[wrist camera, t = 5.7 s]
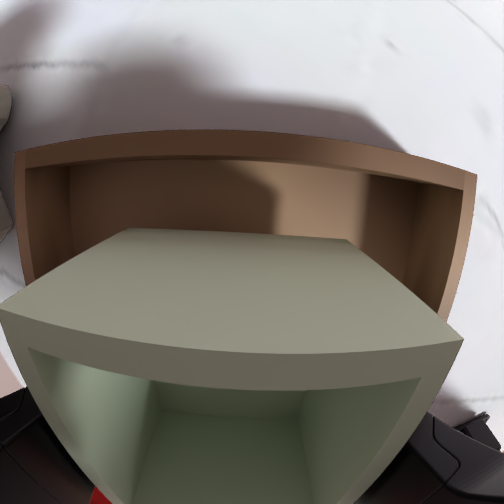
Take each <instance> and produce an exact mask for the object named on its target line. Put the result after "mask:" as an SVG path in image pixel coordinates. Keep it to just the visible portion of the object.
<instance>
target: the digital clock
mask: <svg viewBox="0 0 504 504" xmlns="http://www.w3.org/2000/svg"><path fill="white" fill-rule="evenodd" d="M11 105H12V94H11V91H10V89H9V86H7V85H1V84H0V131H1V130H2V128H3V127H4V125H5V124H6V122H7V120H8V118H9V114H10V110H11ZM12 226H13V221H12V218H11V216H10V213H9V211H8V208H7V206H6V203H5V200H4V198H3V195H2V192H1V189H0V243H1V241H2V240H3V239H4V237H5V236H6V234H7V233H8V232H9V230H10V229H11V228H12Z"/></svg>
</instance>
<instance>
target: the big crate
mask: <svg viewBox="0 0 504 504" xmlns="http://www.w3.org/2000/svg"><path fill="white" fill-rule="evenodd" d="M476 183H477V174H474V173H471V172H468V171H465V170H462V169H459V168H456V167H453V166H450V165H447V164H443V163H440V162H436V161H433V160H429V159H426V158H422V157H418V156H414V155H410V154H406V153H402V152H398V151H394V150H389V149H384V148H380V147H375V146H370V145H365V144H359V143H354V142H348V141H341V140H335V139H328V138H321V137H313V136H305V135H296V134H286V133H274V132H261V131H242V130H165V131H147V132H134V133H123V134H113V135H104V136H97V137H89V138H82V139H76V140H70V141H64V142H59V143H54V144H49V145H44V146H39V147H35V148H30V149H26V150H22V151H18V152H15V158H14V197H15V214H16V226H17V235H18V243H19V250H20V257H21V263H22V268H23V274H24V279H25V283H26V286H28V285H29V284H31V283H32V282H34V281H36V280H37V279H39V278H40V277H42V276H44V275H45V274H47V273H48V272H50V271H52V270H53V269H55V268H57V267H58V266H60V265H62V264H63V263H65V262H67V261H69V260H70V259H72V258H74V257H75V256H77V255H79V254H81V253H82V252H84V251H86V250H88V249H90V248H91V247H93V246H95V245H97V244H99V243H101V242H102V241H104V240H106V239H108V238H110V237H112V236H114V235H116V234H117V233H119V232H121V231H123V230H125V229H127V228H151V229H176V230H199V231H220V232H240V233H258V234H275V235H292V236H307V237H322V238H336V239H347V240H348V241H349V242H350V243H352V244H353V245H354V246H356V247H357V248H358V249H360V250H361V251H362V252H363V253H365V254H366V255H367V256H369V257H370V258H371V259H372V260H374V261H375V262H376V263H377V264H379V265H380V266H381V267H382V268H384V269H385V270H386V271H387V272H389V273H390V274H391V275H392V276H393V277H395V278H396V279H397V280H398V281H399V282H401V283H402V284H403V285H404V286H405V287H407V288H408V289H409V290H410V291H411V292H412V293H414V294H415V295H416V296H417V297H418V298H419V299H421V300H422V301H423V302H424V303H425V304H426V305H427V306H429V307H430V308H431V309H432V310H433V311H434V312H435V313H436V314H438V315H439V316H440V317H441V318H442V319H443V320H444V321H445V322H447V319H448V316H449V313H450V310H451V307H452V304H453V301H454V298H455V294H456V291H457V287H458V284H459V280H460V277H461V273H462V269H463V265H464V260H465V256H466V251H467V246H468V241H469V236H470V230H471V224H472V218H473V211H474V203H475V194H476Z"/></svg>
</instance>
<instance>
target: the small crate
mask: <svg viewBox="0 0 504 504" xmlns="http://www.w3.org/2000/svg"><path fill="white" fill-rule="evenodd" d="M0 322H1V325H2V328H3V331H4V334H5V337H6V339H7V342H8V345H9V347H10V350H11V352H12V354H13V357H14V359H15V361H16V364H17V366H18V368H19V370H20V373H21V375H22V377H23V379H24V381H25V383H26V385H27V387H28V389H29V391H30V393H31V395H32V396H33V398H34V400H35V402H36V404H37V405H38V407H39V409H40V411H41V412H42V414H43V416H44V417H45V419H46V421H47V422H48V424H49V425H50V427H51V429H52V430H53V432H54V433H55V435H56V436H57V438H58V439H59V440H60V442H61V443H62V445H63V446H64V448H65V449H66V450H67V452H68V453H69V454H70V456H71V457H72V458H73V460H74V461H75V462H76V463H77V465H78V466H79V467H80V468H81V470H82V471H83V472H84V473H85V474H86V476H87V477H88V478H89V479H90V480H91V481H92V483H93V484H94V485H95V486H96V487H97V488H98V489H99V490H100V491H101V492H102V493H103V494H104V496H105V497H106V498H107V499H108V500H109V501H110V502H111V503H112V504H353V503H354V502H355V501H356V500H357V499H358V498H359V497H360V496H361V495H362V494H363V493H364V492H365V491H366V490H367V489H368V488H369V487H370V486H371V485H372V484H373V483H374V481H375V480H376V479H377V478H378V477H379V476H380V475H381V474H382V472H383V471H384V470H385V469H386V468H387V466H388V465H389V464H390V463H391V462H392V460H393V459H394V458H395V456H396V455H397V454H398V453H399V451H400V450H401V449H402V447H403V446H404V445H405V443H406V442H407V441H408V439H409V438H410V436H411V435H412V433H413V432H414V431H415V429H416V428H417V426H418V425H419V423H420V422H421V420H422V418H423V417H424V415H425V414H426V412H427V411H428V409H429V407H430V406H431V404H432V402H433V400H434V399H435V397H436V395H437V394H438V392H439V390H440V388H441V386H442V384H443V383H444V381H445V379H446V377H447V375H448V373H449V371H450V369H451V367H452V365H453V363H454V361H455V358H456V356H457V354H458V352H459V350H460V347H461V345H462V343H463V340H464V339H463V338H462V337H461V336H460V335H459V334H458V333H457V332H456V331H455V330H454V329H453V328H452V327H451V326H450V325H448V324H447V323H446V322H445V321H444V320H443V319H442V318H441V317H440V316H439V315H438V314H436V313H435V312H434V311H433V310H432V309H431V308H430V307H429V306H427V305H426V304H425V303H424V302H423V301H422V300H421V299H419V298H418V297H417V296H416V295H415V294H414V293H412V292H411V291H410V290H409V289H408V288H407V287H405V286H404V285H403V284H402V283H401V282H399V281H398V280H397V279H396V278H395V277H393V276H392V275H391V274H390V273H389V272H387V271H386V270H385V269H384V268H382V267H381V266H380V265H379V264H377V263H376V262H375V261H374V260H372V259H371V258H370V257H369V256H367V255H366V254H365V253H363V252H362V251H361V250H360V249H358V248H357V247H356V246H354V245H353V244H352V243H350V242H349V241H348V240H347V239H336V238H322V237H307V236H292V235H275V234H258V233H240V232H220V231H199V230H176V229H151V228H127V229H125V230H123V231H121V232H119V233H117V234H116V235H114V236H112V237H110V238H108V239H106V240H104V241H102V242H101V243H99V244H97V245H95V246H93V247H91V248H90V249H88V250H86V251H84V252H82V253H81V254H79V255H77V256H75V257H74V258H72V259H70V260H69V261H67V262H65V263H63V264H62V265H60V266H58V267H57V268H55V269H53V270H52V271H50V272H48V273H47V274H45V275H44V276H42V277H40V278H39V279H37V280H36V281H34V282H32V283H31V284H29V285H28V286H26V287H25V288H23V289H22V290H20V291H19V292H17V293H16V294H14V295H13V296H11V297H10V298H8V299H7V300H5V301H4V302H2V303H1V304H0Z"/></svg>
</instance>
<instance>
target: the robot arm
mask: <svg viewBox="0 0 504 504" xmlns="http://www.w3.org/2000/svg"><path fill="white" fill-rule="evenodd" d="M489 418H490V416H489V415H488V414H486V415H484V416H482V417H479V418H477V419H475V420H473V421H471V422H469V423H466V424H464V425H462V426H459V427H457V428H452V427H450V426H449V425H447V424H446V423H444V422H442V421H441V420H439V419H438V418H436V417H433V415H432V414H430V413H429V412H426V414H425V415H424V417H423V418H422V420H421V422H420V423H419V425H418V426H417V428H416V429H415V431H414V432H413V433H412V435H411V436H410V438H409V439H408V441H407V442H406V443H405V445H404V446H403V447H402V449H401V450H400V451H399V453H398V454H397V455H396V456H395V458H394V459H393V460H392V462H391V463H390V464H389V465H388V466H387V468H386V469H385V470H384V471H383V472H382V474H381V475H380V476H379V477H378V478H377V479H376V480H375V481H374V483H373V484H372V485H371V486H370V487H369V488H368V489H367V490H366V491H365V492H364V493H363V494H362V495H361V496H360V497H359V498H358V499H357V500H356V501H355V502H354V503H353V504H504V453H502V452H501V451H500V449H501V445H500V444H499V442H498V441H497V439H496V438H495V436H494V435H493V433H492V432H491V430H490V429H489V428H488V426H487V425H486V422H487V420H488V419H489ZM94 488H95V485H94V484H93V483H92V481H91V480H90V479H89V478H88V477H87V476H86V474H85V473H84V472H83V471H82V470H81V468H80V467H79V466H78V465H77V463H76V462H75V461H74V460H73V458H72V457H71V456H70V454H69V453H68V452H67V450H66V449H65V448H64V446H63V445H62V443H61V442H60V440H59V439H58V438H57V436H56V435H55V433H54V432H53V430H52V429H51V427H50V425H49V424H48V422H47V421H46V419H45V417H44V416H43V414H42V412H41V411H40V409H39V407H38V405H37V404H36V402H35V400H34V398H33V396H32V395H31V393H30V391H29V389H28V387H27V386H26V388H22V389H20V390H18V391H16V392H13V393H11V394H9V395H7V396H4V397H2V398H0V504H89V503H90V500H91V497H92V494H93V491H94Z"/></svg>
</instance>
